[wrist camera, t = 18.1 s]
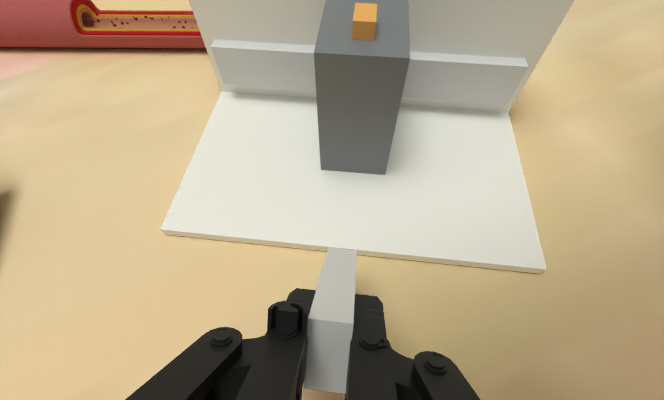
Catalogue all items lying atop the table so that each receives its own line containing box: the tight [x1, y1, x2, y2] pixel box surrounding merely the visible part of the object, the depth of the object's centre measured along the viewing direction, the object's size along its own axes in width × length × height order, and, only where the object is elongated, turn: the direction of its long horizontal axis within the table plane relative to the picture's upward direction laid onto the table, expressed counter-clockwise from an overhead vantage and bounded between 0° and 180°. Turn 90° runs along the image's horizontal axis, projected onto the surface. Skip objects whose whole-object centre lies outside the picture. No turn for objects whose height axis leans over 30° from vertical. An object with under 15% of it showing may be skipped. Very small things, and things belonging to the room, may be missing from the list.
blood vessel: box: [0, 0, 206, 49], centre depth 35 cm, size 42×5×5 cm, turn 89°
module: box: [314, 0, 410, 175], centre depth 23 cm, size 5×7×11 cm
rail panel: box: [160, 0, 574, 274], centre depth 21 cm, size 26×16×14 cm, turn 83°
